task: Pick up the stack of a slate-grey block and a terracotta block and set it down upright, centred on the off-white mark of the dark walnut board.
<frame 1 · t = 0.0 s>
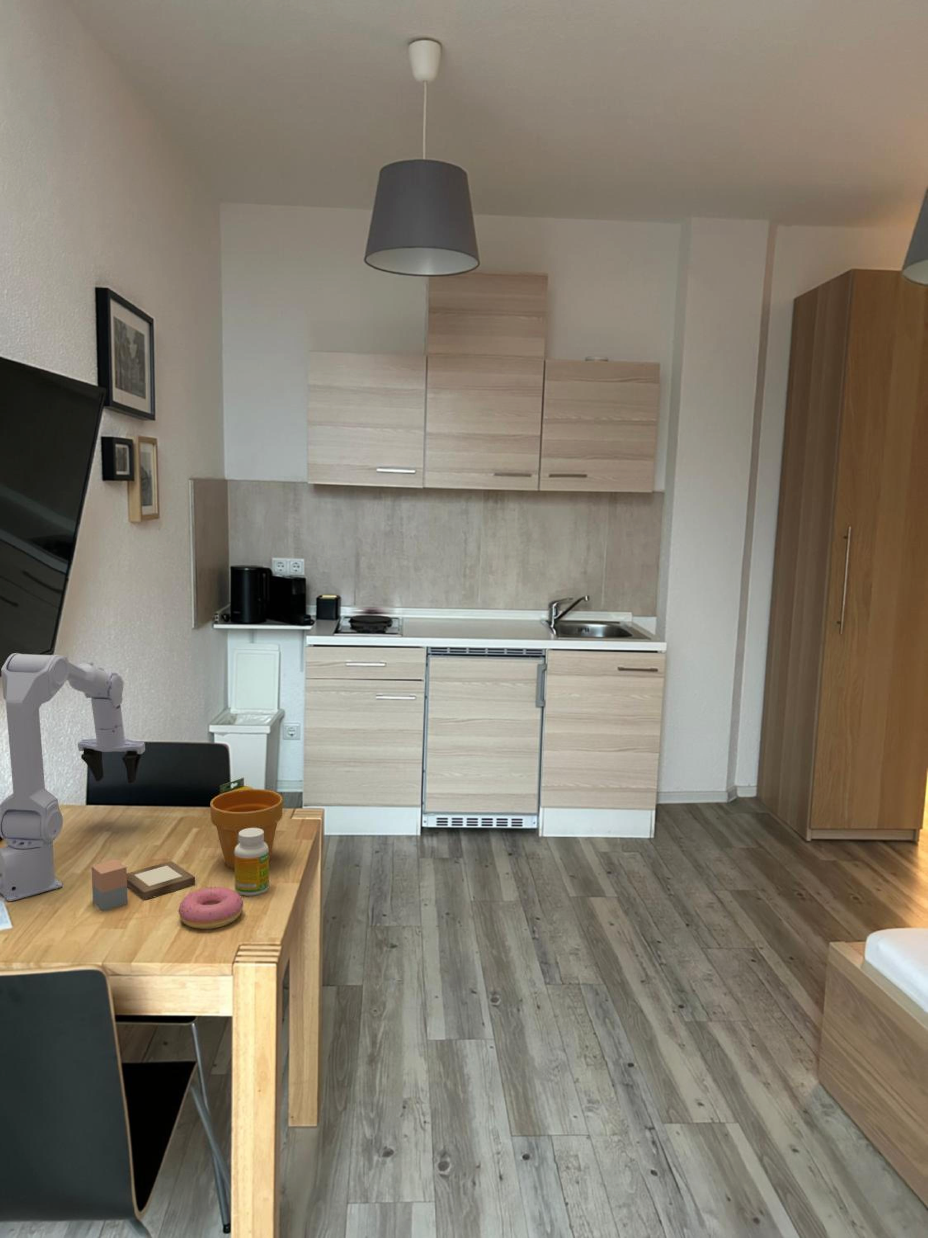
hand: (116, 780, 192), 11 cm above the table, tool pointing down, fingers open, 7 cm apart
block stack: (110, 903, 157), on the table
supplement bottle: (252, 890, 163), on the table
flower pot: (247, 862, 176), on the table
doughnut: (211, 919, 152), on the table
walnut board: (158, 883, 165), on the table
crayon box: (236, 834, 191), on the table
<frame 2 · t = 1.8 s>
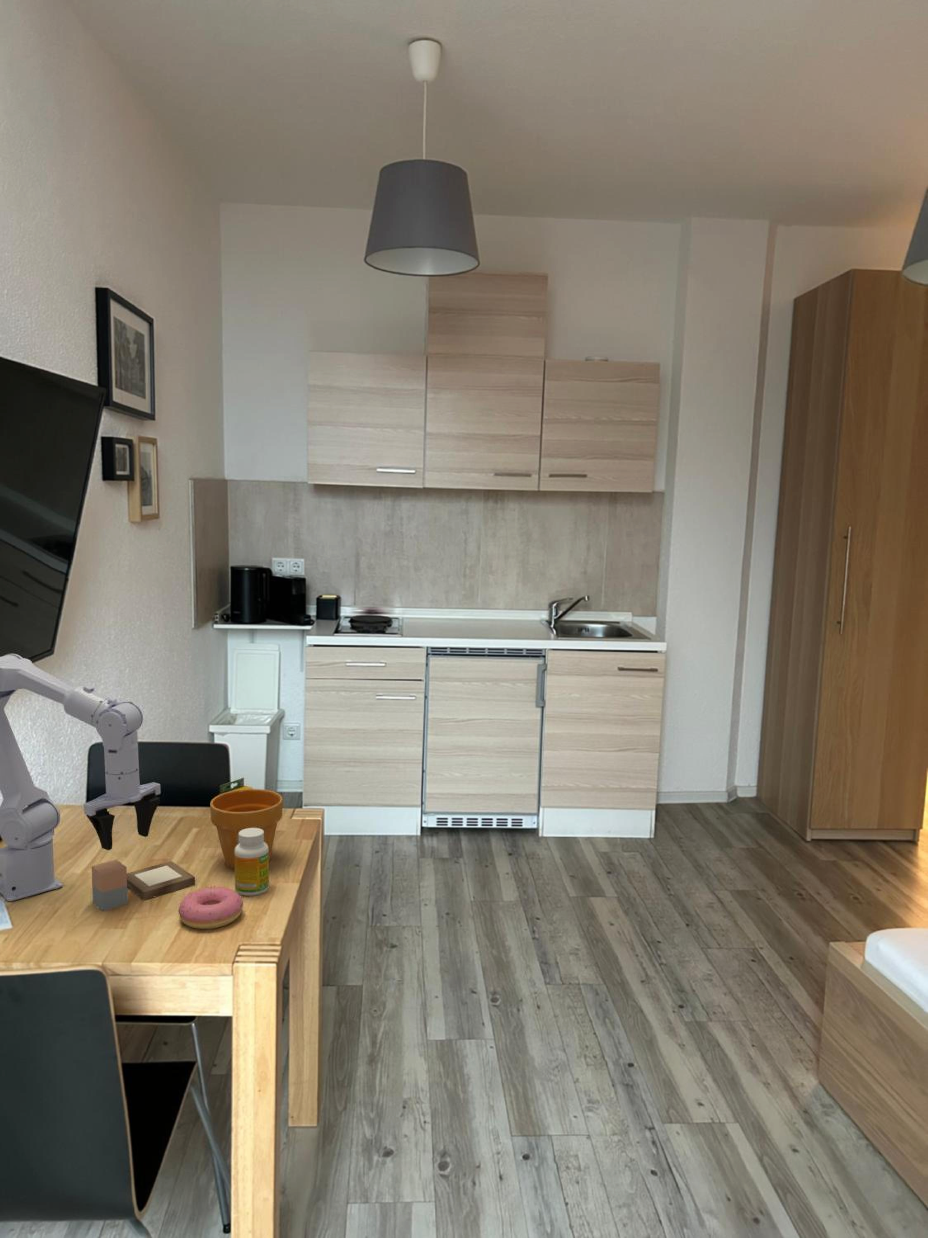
hand: (125, 842, 158), 11 cm above the table, tool pointing down, fingers open, 7 cm apart
nothing on the table moved.
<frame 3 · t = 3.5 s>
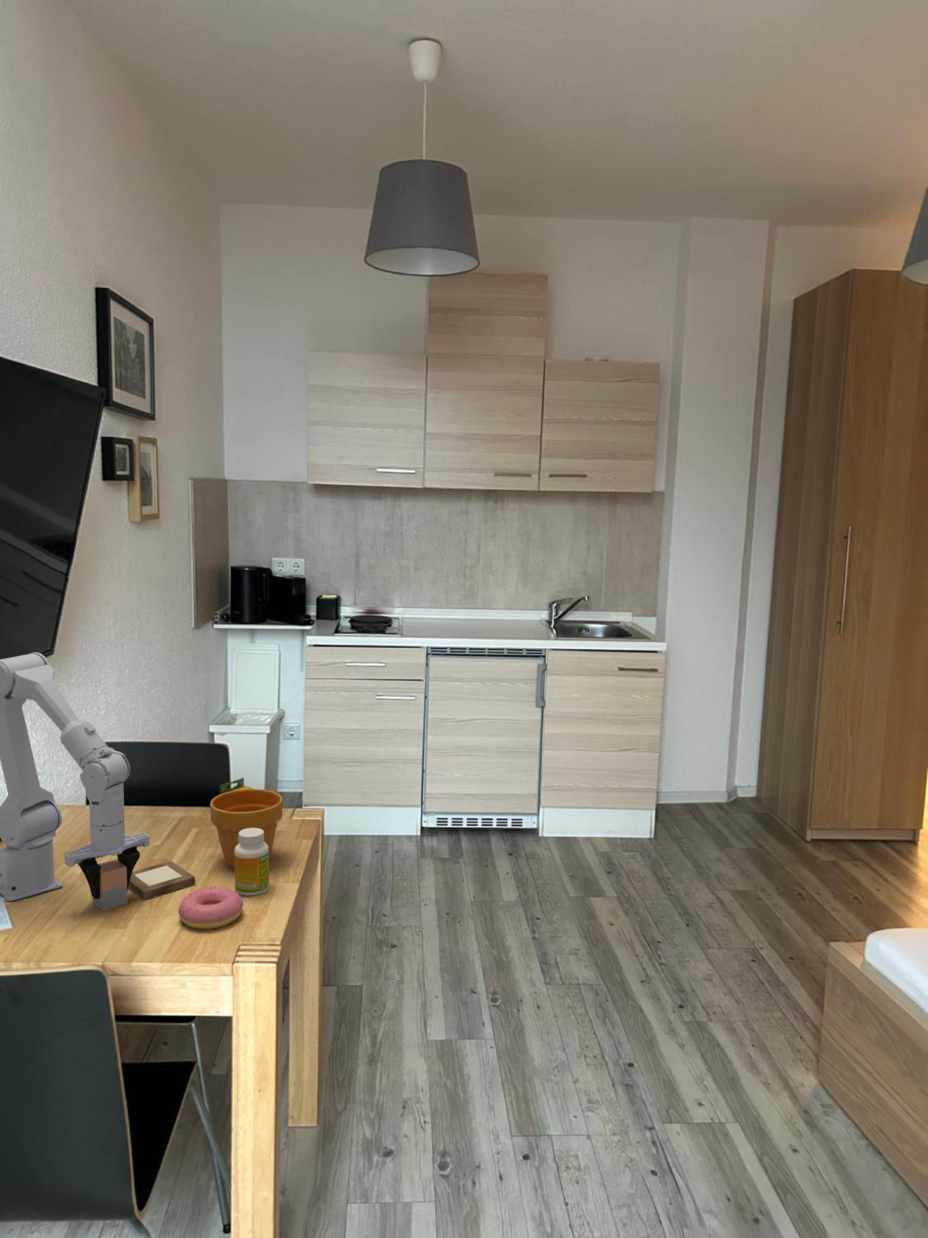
hand: (109, 893, 156), 2 cm above the table, tool pointing down, fingers closed on block stack, 4 cm apart
block stack: (110, 903, 157), on the table, touching gripper
everything else where it was.
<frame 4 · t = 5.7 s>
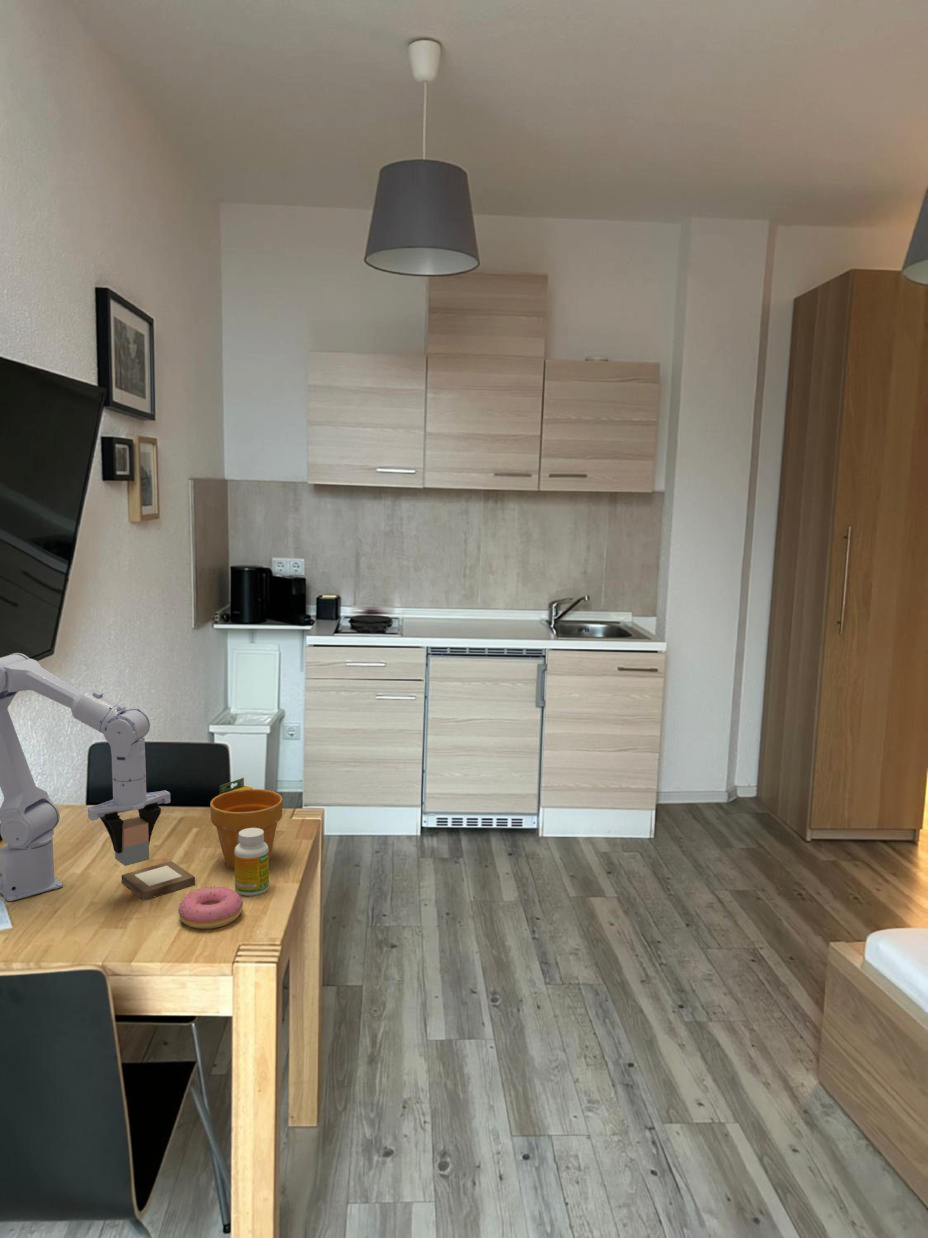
hand: (131, 848, 159), 9 cm above the table, tool pointing down, fingers closed on block stack, 4 cm apart
block stack: (132, 859, 159), point 7 cm above the table, touching gripper
everything else where it was.
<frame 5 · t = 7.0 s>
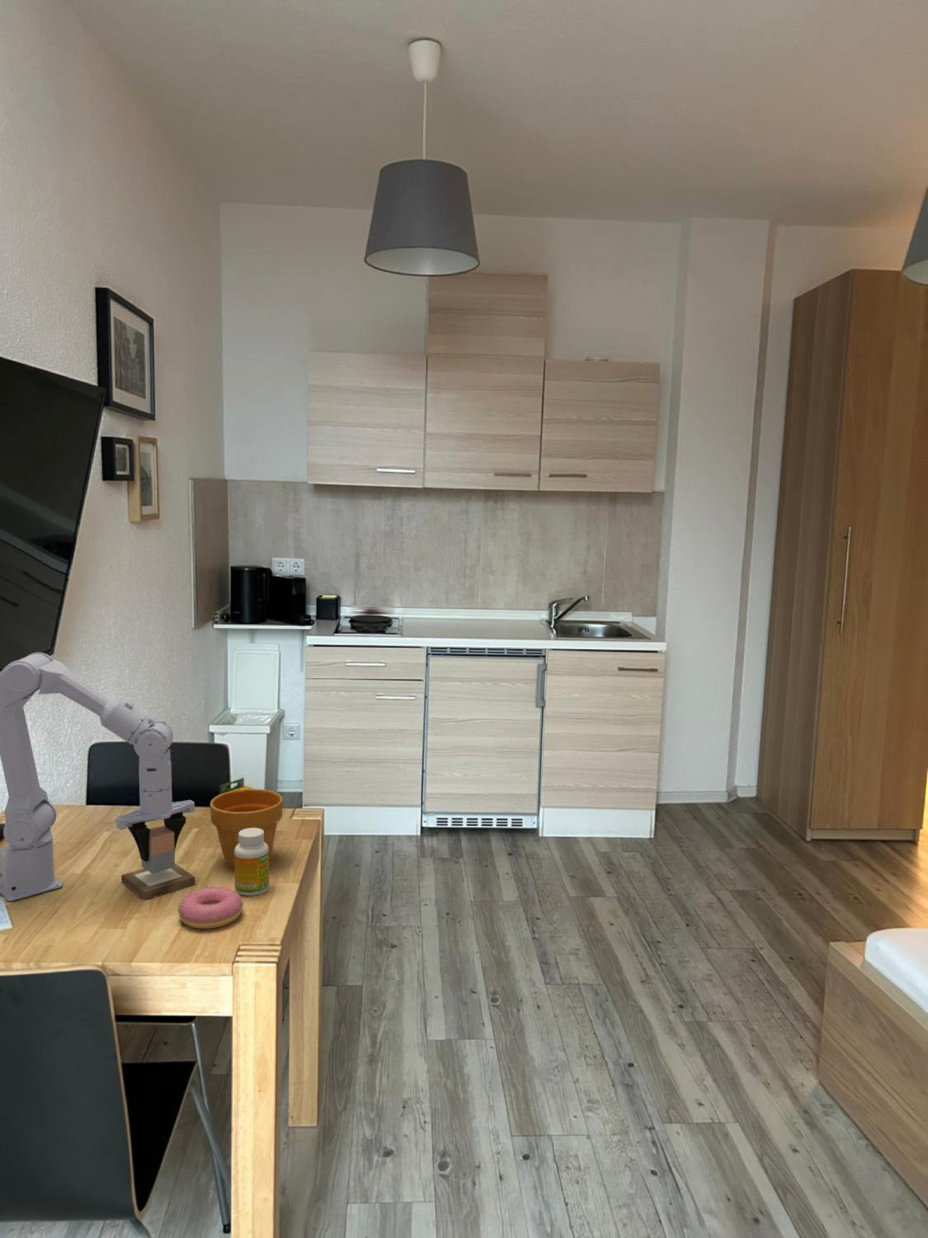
hand: (157, 856, 164), 5 cm above the table, tool pointing down, fingers closed on block stack, 4 cm apart
block stack: (158, 866, 164), point 3 cm above the table, touching gripper
everything else where it was.
when the fingers open (5 cm above the table, at t = 8.1 s): block stack stays where it is, resting on walnut board.
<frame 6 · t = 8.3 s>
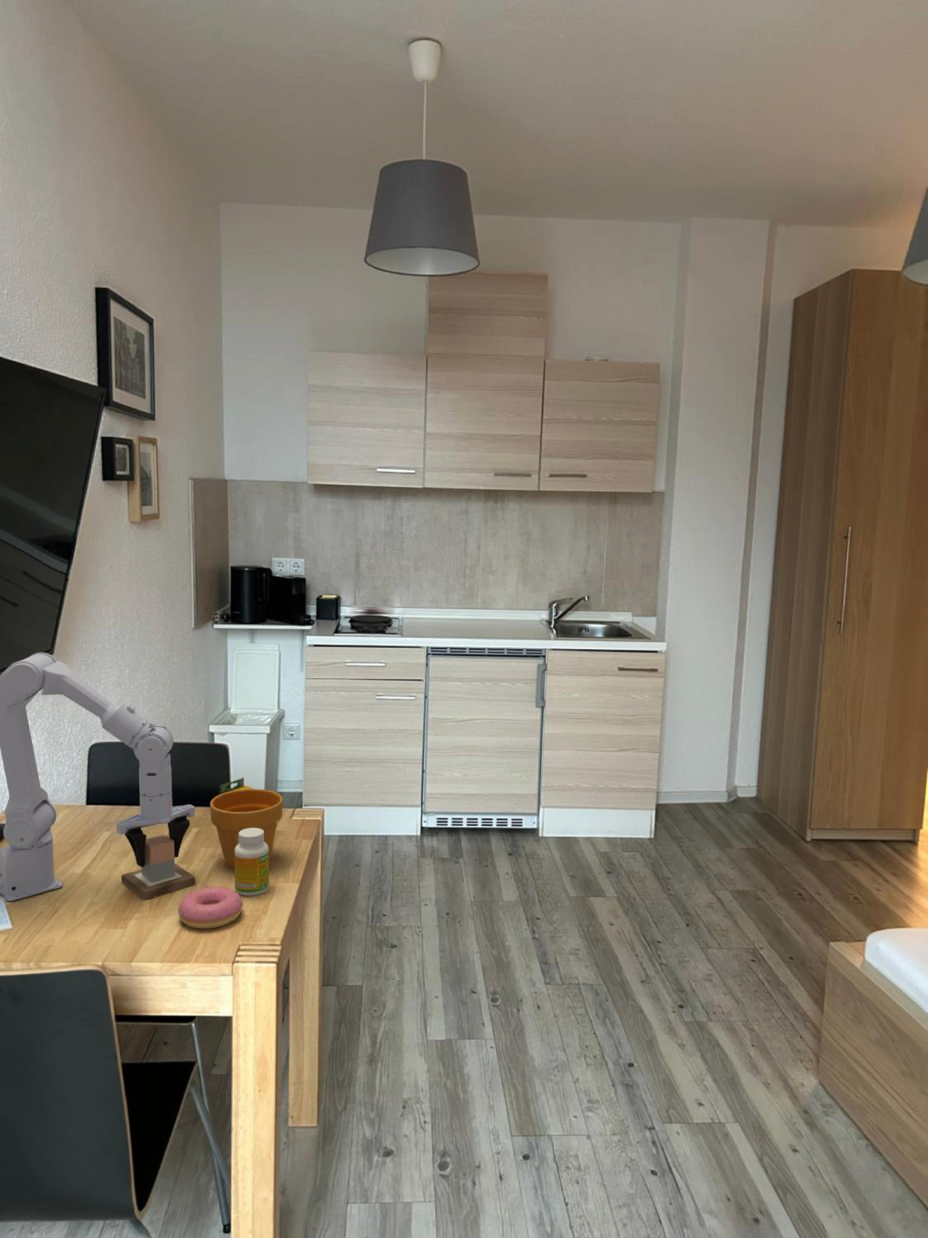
hand: (157, 860, 164), 5 cm above the table, tool pointing down, fingers open, 6 cm apart
block stack: (158, 875, 165), point 2 cm above the table, touching walnut board
everything else where it was.
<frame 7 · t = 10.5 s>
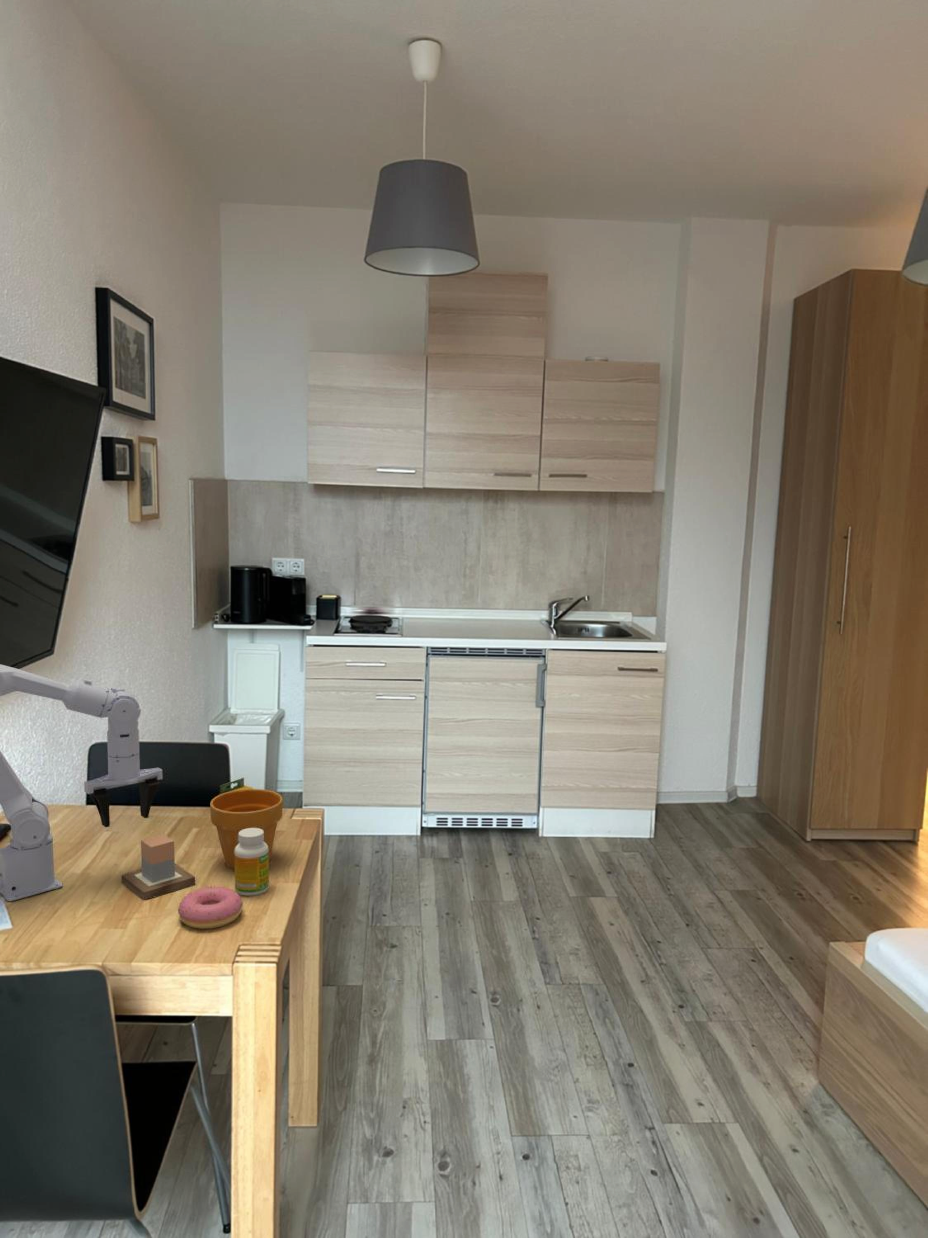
hand: (125, 821, 169), 10 cm above the table, tool pointing down, fingers open, 7 cm apart
nothing on the table moved.
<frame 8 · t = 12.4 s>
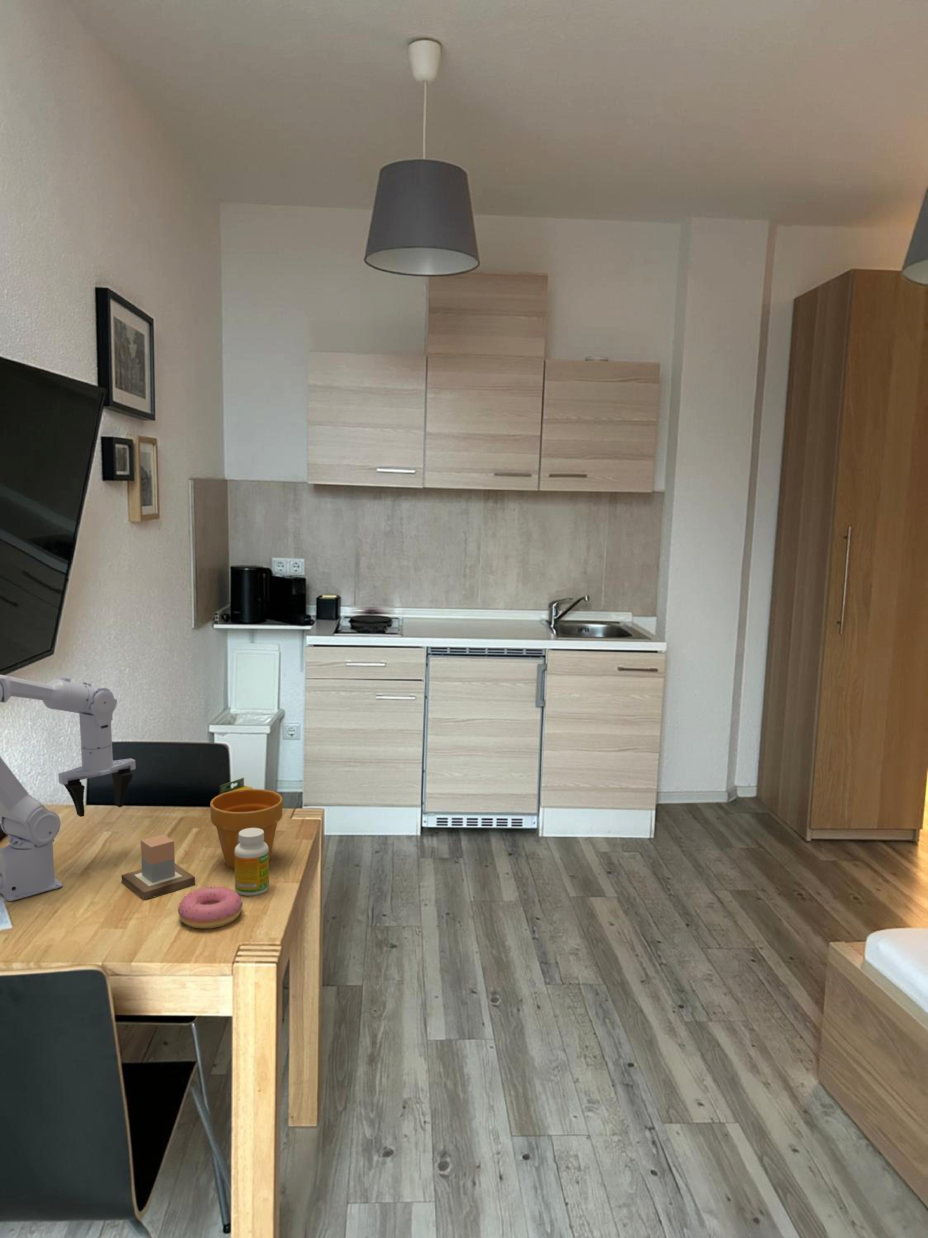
hand: (100, 810, 174), 10 cm above the table, tool pointing down, fingers open, 7 cm apart
nothing on the table moved.
at the end: block stack 0.1 cm off-centre on the walnut board, point 1.6 cm above the walnut board's base; block stack tilted 0°; the gripper is holding nothing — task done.
